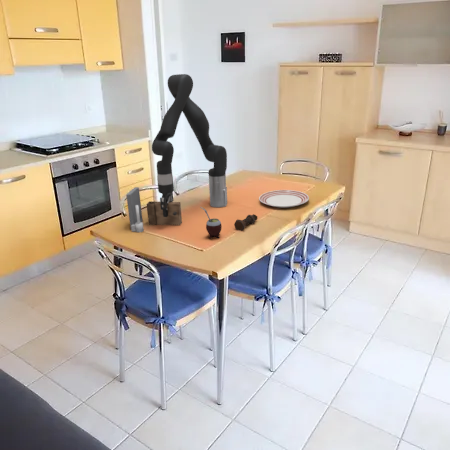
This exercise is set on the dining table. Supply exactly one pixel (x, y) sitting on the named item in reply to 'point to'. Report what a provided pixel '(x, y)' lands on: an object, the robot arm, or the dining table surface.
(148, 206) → the door
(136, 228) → the cabinet side
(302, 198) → the dinner plate
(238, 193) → the dining table surface
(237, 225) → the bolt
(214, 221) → the mate gourd
